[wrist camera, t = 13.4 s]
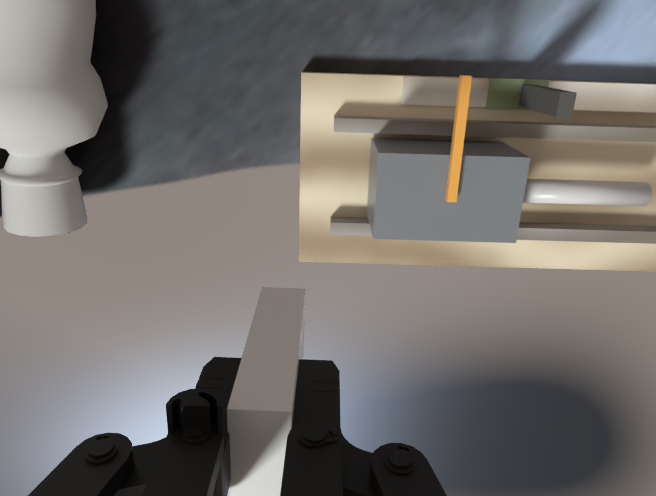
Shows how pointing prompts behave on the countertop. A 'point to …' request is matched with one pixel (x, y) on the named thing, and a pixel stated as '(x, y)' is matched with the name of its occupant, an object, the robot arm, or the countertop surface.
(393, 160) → the sliding vise jaw
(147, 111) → the countertop surface
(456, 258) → the bench vise
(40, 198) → the bottle
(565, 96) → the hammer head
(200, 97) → the countertop surface
